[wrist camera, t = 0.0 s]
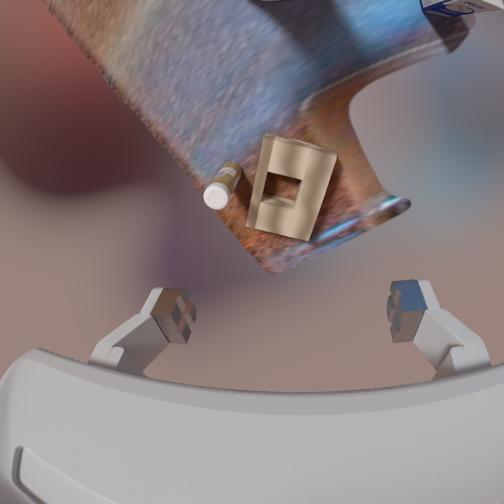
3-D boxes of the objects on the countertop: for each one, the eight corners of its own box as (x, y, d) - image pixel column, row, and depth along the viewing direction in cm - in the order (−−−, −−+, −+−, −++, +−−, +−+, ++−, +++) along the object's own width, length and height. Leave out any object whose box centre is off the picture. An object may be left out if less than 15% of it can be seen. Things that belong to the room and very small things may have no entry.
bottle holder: (248, 216, 64) (245, 226, 61) (266, 132, 52) (263, 137, 49) (308, 230, 64) (308, 241, 61) (334, 150, 52) (337, 156, 49)
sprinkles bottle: (234, 157, 56) (217, 182, 46) (246, 174, 58) (233, 202, 48) (217, 168, 58) (197, 194, 48) (229, 184, 60) (213, 214, 50)
